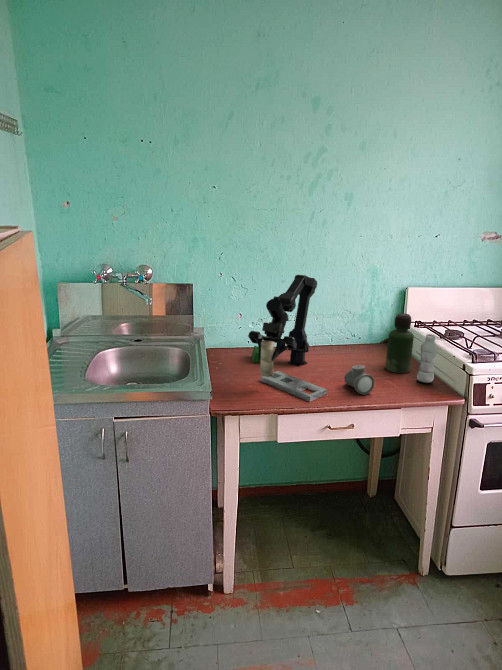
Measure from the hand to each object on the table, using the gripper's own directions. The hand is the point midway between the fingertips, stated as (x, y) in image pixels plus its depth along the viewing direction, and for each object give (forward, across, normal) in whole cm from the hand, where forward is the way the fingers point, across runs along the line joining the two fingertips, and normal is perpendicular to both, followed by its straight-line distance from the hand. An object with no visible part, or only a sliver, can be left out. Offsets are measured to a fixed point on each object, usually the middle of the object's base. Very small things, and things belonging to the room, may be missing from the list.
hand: (265, 359), depth 181 cm
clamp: (-12, -17, +32) cm, 38 cm away
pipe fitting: (-4, +32, +23) cm, 39 cm away
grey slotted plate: (+4, +8, +15) cm, 18 cm away
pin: (+4, 0, +6) cm, 7 cm away
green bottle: (-25, +42, +44) cm, 66 cm away
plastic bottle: (-19, +55, +38) cm, 69 cm away
